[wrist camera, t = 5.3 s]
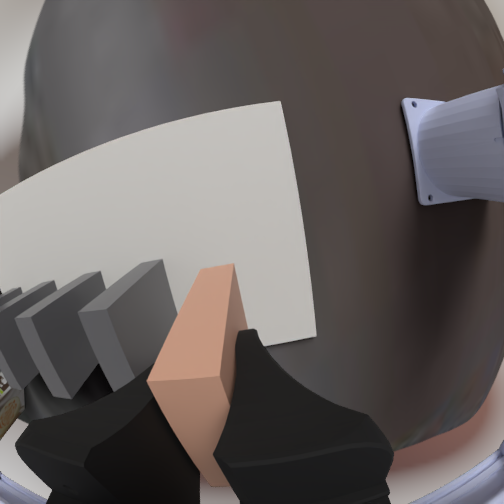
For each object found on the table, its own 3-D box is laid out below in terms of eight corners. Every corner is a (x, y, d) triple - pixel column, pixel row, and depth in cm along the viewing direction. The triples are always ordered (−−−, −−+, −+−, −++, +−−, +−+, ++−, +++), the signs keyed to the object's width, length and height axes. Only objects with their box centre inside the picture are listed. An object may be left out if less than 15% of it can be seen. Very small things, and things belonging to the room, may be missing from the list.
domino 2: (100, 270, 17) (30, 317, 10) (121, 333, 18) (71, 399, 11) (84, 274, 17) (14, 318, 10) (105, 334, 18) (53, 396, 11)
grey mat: (279, 103, 16) (280, 101, 15) (314, 332, 19) (316, 335, 19) (-15, 205, 16) (-18, 206, 16) (31, 356, 20) (29, 358, 19)
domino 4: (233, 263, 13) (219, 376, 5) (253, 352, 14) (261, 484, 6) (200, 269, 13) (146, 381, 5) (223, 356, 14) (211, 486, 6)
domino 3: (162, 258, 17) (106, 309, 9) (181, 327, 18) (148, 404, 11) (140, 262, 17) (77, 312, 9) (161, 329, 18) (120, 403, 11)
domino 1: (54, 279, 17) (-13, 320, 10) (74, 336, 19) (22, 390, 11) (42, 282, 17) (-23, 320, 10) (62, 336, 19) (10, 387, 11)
